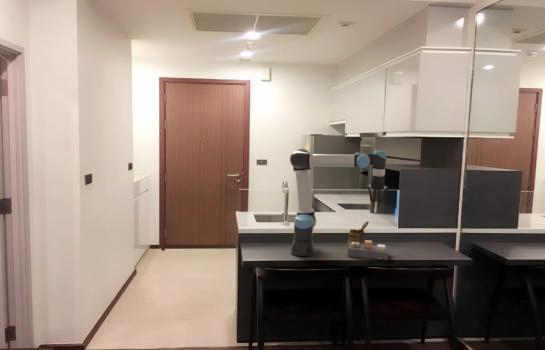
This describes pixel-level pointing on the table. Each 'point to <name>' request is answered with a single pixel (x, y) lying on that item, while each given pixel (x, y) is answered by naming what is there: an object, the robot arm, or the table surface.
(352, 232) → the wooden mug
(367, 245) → the terracotta key
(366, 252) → the key console
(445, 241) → the table surface
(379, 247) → the white key
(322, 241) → the table surface
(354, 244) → the birch key
